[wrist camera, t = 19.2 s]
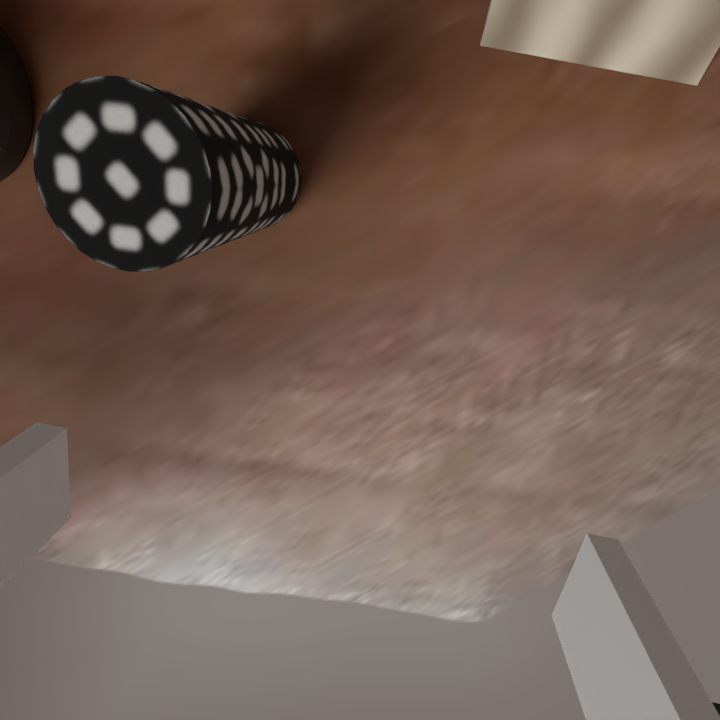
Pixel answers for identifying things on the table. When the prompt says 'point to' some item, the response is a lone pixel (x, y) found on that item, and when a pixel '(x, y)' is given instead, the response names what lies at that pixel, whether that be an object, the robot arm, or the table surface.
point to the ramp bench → (611, 34)
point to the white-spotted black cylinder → (157, 173)
